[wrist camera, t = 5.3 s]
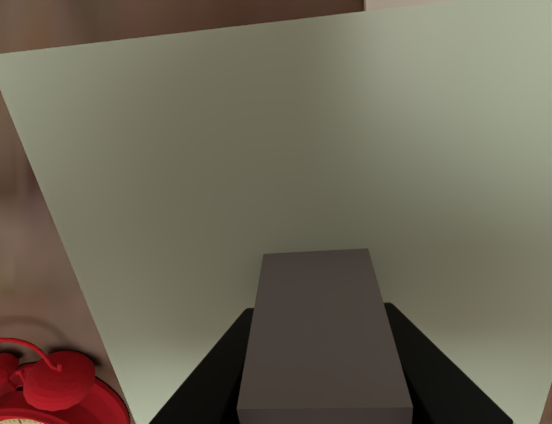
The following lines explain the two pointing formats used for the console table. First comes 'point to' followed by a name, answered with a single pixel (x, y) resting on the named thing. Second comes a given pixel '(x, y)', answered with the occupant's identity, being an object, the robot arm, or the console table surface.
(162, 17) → the console table surface
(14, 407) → the alarm clock
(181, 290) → the cover sheet
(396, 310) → the robot arm
